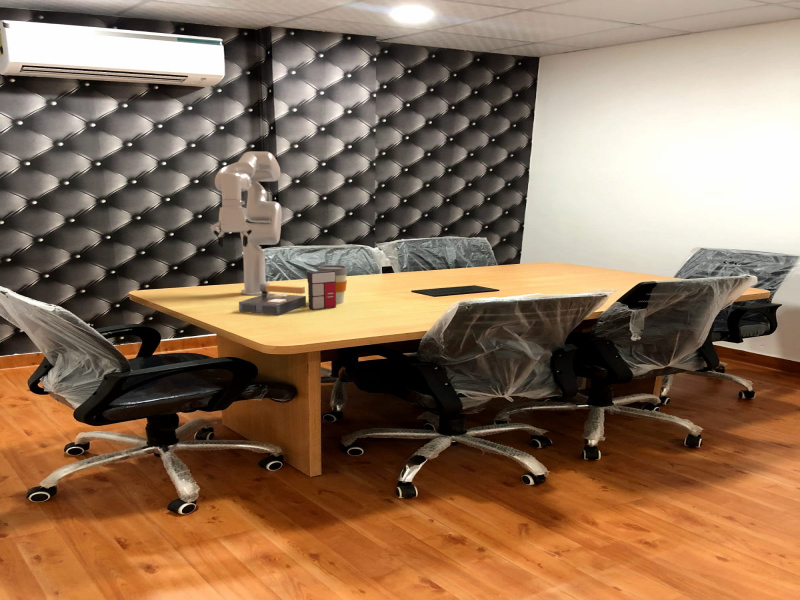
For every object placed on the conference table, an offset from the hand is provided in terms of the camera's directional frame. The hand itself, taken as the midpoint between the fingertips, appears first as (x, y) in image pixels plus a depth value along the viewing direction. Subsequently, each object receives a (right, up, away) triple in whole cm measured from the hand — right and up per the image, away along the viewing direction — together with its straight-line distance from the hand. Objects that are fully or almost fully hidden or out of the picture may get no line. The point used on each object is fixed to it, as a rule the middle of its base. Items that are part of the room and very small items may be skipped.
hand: (233, 246), depth 296 cm
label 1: (+18, -20, +5) cm, 27 cm away
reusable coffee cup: (+39, -23, +15) cm, 47 cm away
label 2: (+19, -22, -6) cm, 30 cm away
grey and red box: (+36, -25, +1) cm, 44 cm away
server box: (+16, -25, 0) cm, 30 cm away
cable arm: (+19, -18, +5) cm, 27 cm away
